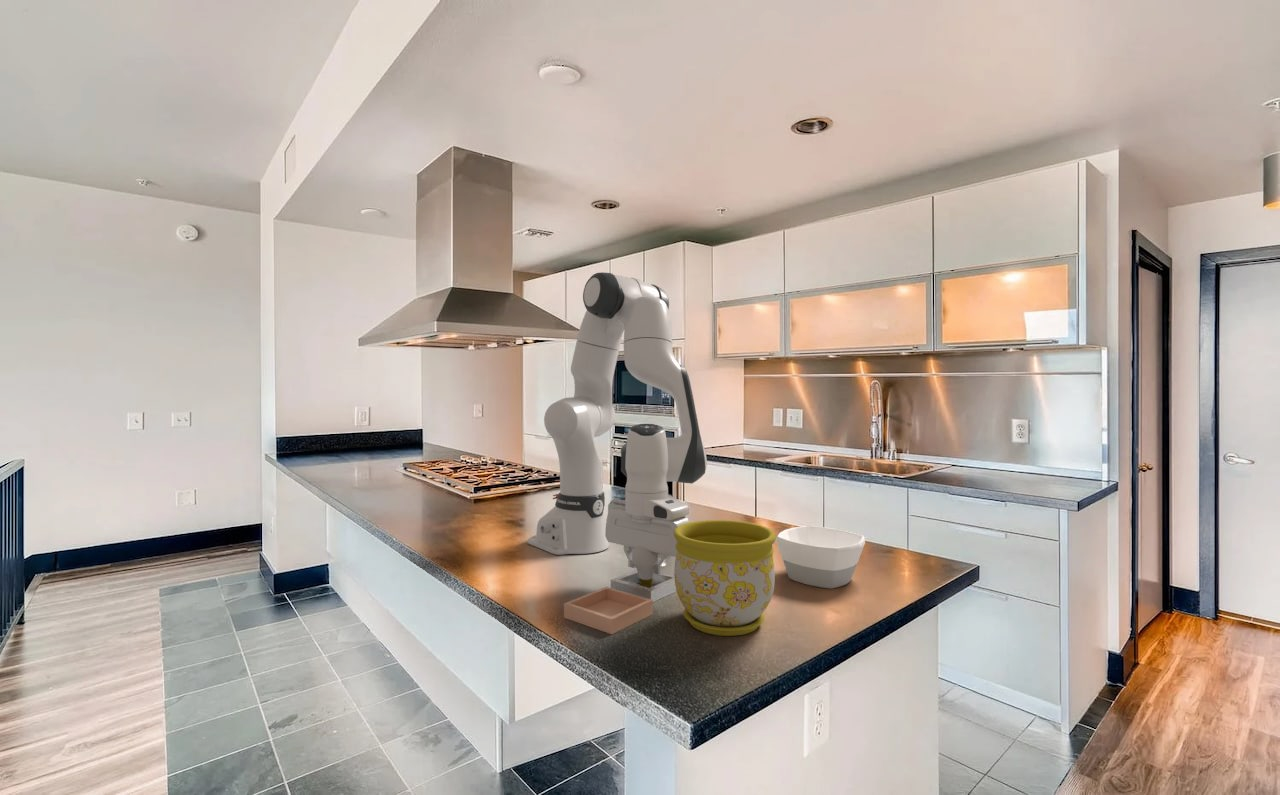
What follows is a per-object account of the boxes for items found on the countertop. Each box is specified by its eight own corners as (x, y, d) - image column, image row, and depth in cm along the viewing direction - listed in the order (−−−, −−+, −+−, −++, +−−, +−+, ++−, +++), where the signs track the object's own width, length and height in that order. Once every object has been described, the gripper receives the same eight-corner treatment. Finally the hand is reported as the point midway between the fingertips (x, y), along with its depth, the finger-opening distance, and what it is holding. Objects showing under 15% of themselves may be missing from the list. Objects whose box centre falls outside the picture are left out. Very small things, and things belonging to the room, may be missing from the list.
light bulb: (646, 583, 129) (646, 536, 128) (666, 590, 125) (666, 542, 124) (625, 590, 125) (626, 542, 124) (646, 597, 120) (646, 547, 120)
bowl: (763, 579, 132) (763, 536, 132) (802, 561, 145) (803, 522, 145) (841, 599, 120) (841, 552, 120) (876, 578, 133) (877, 535, 133)
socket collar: (610, 591, 124) (610, 579, 124) (642, 578, 132) (642, 567, 132) (650, 603, 117) (650, 591, 117) (681, 588, 125) (681, 577, 125)
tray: (563, 617, 110) (563, 603, 110) (606, 599, 119) (606, 586, 119) (611, 634, 103) (611, 619, 103) (653, 614, 112) (653, 600, 112)
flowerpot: (704, 651, 97) (705, 549, 96) (657, 611, 113) (657, 524, 113) (796, 632, 104) (797, 538, 103) (738, 598, 120) (739, 516, 120)
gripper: (598, 499, 128) (598, 564, 129) (678, 513, 115) (677, 584, 116) (618, 495, 133) (618, 557, 133) (696, 507, 120) (695, 576, 121)
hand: (646, 570), depth 125 cm, fingers closed on light bulb, 5 cm apart
